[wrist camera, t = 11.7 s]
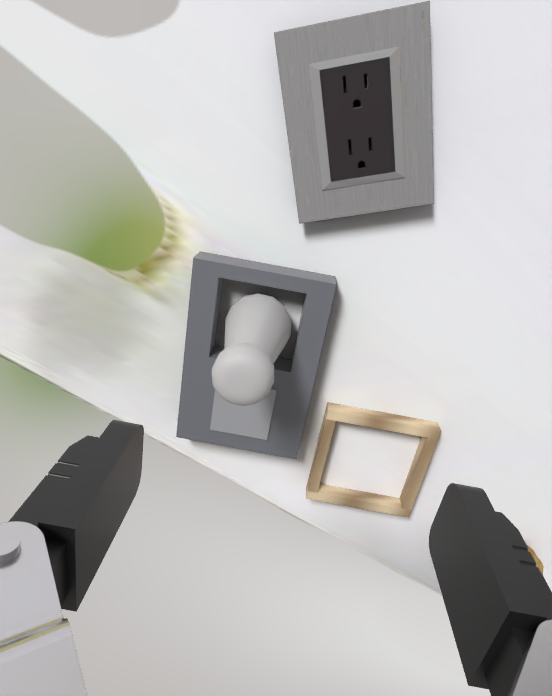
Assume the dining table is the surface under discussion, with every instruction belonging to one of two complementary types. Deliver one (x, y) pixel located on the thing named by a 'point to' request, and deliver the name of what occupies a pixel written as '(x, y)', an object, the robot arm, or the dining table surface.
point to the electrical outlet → (359, 112)
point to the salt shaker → (251, 349)
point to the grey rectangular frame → (289, 376)
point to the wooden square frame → (380, 421)
